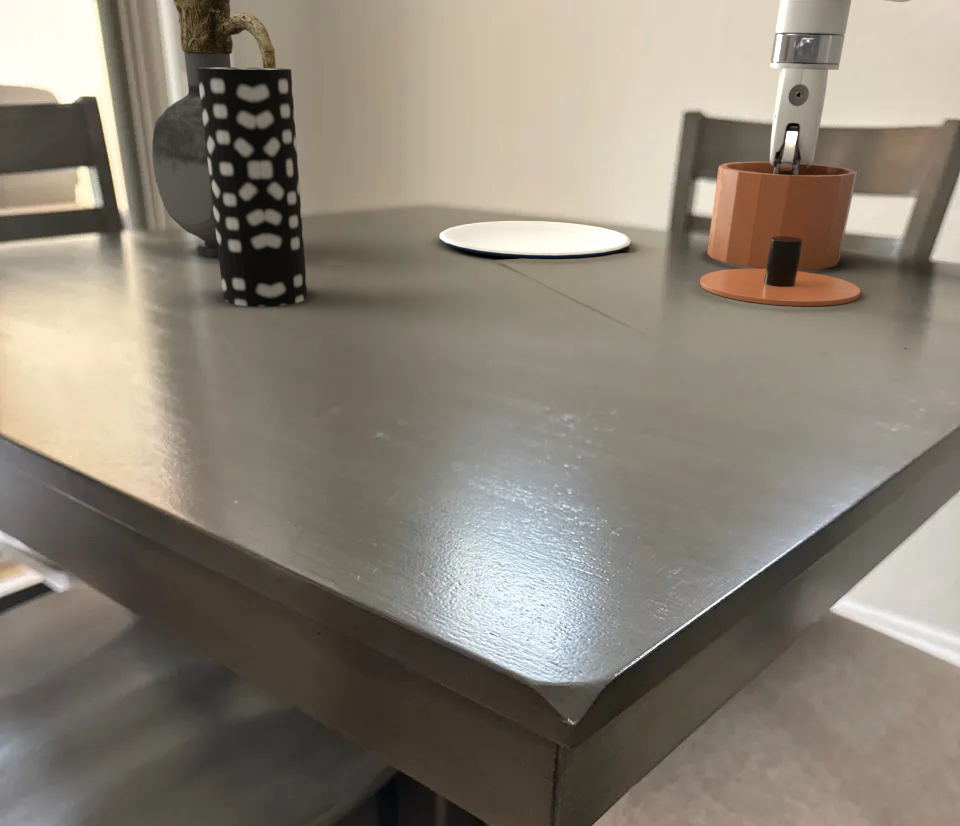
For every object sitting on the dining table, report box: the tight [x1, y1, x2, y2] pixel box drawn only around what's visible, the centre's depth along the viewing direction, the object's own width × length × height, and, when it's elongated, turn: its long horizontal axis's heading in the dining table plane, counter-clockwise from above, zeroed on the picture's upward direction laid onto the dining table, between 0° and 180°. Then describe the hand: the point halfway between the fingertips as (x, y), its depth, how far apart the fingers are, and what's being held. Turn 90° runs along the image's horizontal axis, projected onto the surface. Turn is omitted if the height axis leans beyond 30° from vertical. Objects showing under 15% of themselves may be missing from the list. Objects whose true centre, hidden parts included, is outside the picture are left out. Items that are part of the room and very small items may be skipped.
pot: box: [706, 161, 858, 271], centre depth 118 cm, size 16×16×10 cm
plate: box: [439, 220, 632, 260], centre depth 127 cm, size 25×25×1 cm
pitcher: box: [151, 0, 277, 259], centre depth 109 cm, size 11×19×30 cm, turn 49°
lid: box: [699, 236, 861, 307], centre depth 103 cm, size 17×17×6 cm
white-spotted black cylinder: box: [197, 66, 308, 308], centre depth 93 cm, size 8×8×20 cm
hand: (777, 225), depth 118 cm, fingers closed on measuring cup, 5 cm apart
